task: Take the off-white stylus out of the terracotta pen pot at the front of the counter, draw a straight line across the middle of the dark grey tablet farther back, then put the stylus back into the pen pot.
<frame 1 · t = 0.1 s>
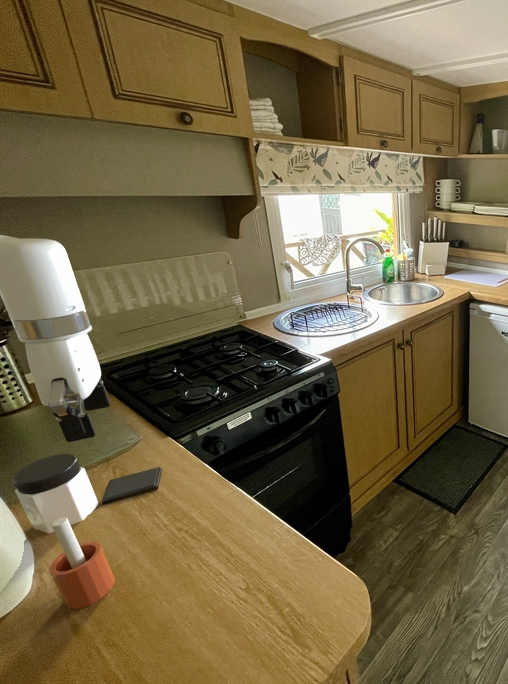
hand: (90, 422, 61), 25 cm above the countertop, tool pointing down, fingers open, 9 cm apart
tablet: (134, 486, 81), on the countertop
jar: (68, 517, 73), on the countertop
stylus: (91, 590, 59), point 1 cm above the countertop, touching pen pot
pen pot: (92, 593, 60), on the countertop
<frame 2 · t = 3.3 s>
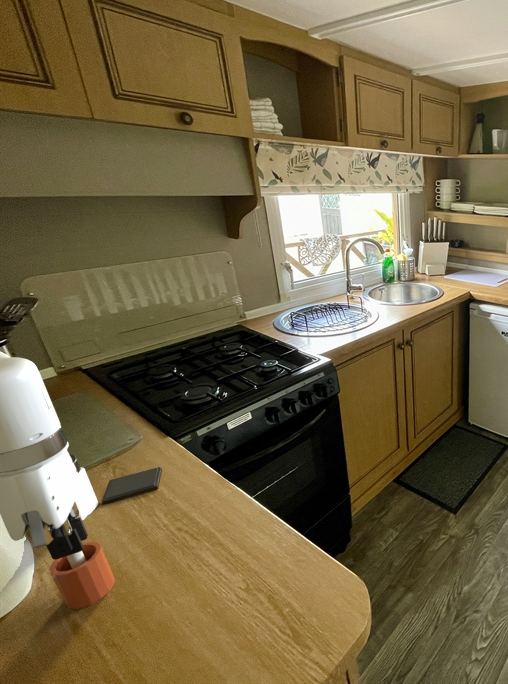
hand: (71, 547, 56), 10 cm above the countertop, tool pointing down, fingers closed on stylus, 1 cm apart
stylus: (91, 590, 59), point 1 cm above the countertop, touching gripper, pen pot
everything else where it was.
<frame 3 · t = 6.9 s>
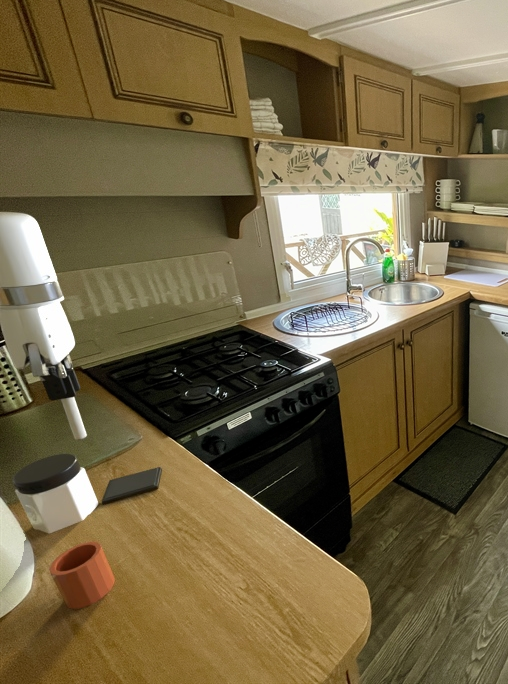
hand: (65, 394, 65), 27 cm above the countertop, tool pointing down, fingers closed on stylus, 1 cm apart
stylus: (81, 438, 68), point 18 cm above the countertop, touching gripper
everything else where it was.
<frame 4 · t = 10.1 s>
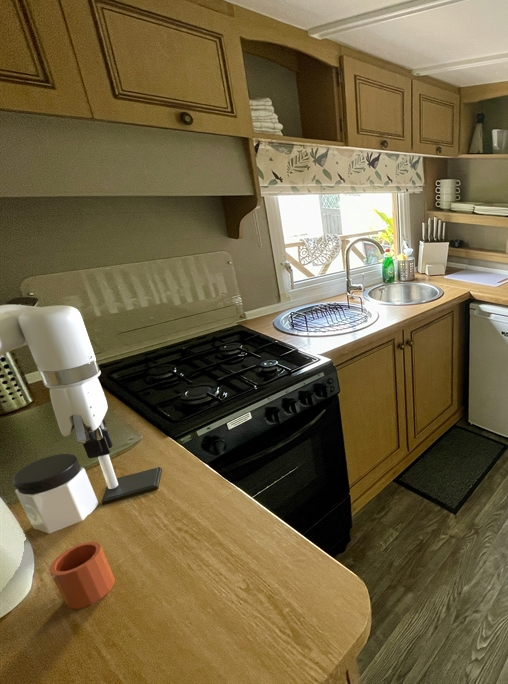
hand: (101, 451, 76), 10 cm above the countertop, tool pointing down, fingers closed on stylus, 1 cm apart
stylus: (113, 487, 79), point 1 cm above the countertop, touching gripper
everything else where it was.
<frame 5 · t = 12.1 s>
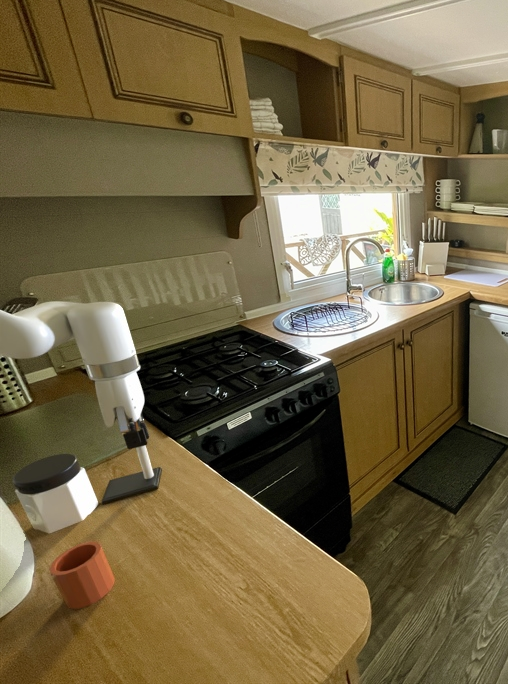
hand: (138, 442, 79), 10 cm above the countertop, tool pointing down, fingers closed on stylus, 1 cm apart
stylus: (149, 477, 82), point 1 cm above the countertop, touching gripper
everything else where it was.
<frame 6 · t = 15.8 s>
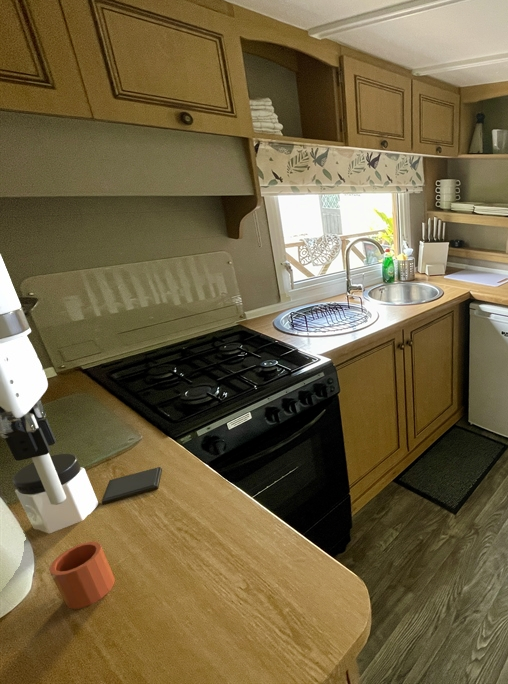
hand: (36, 450, 51), 27 cm above the countertop, tool pointing down, fingers closed on stylus, 1 cm apart
stylus: (59, 502, 55), point 18 cm above the countertop, touching gripper
everything else where it was.
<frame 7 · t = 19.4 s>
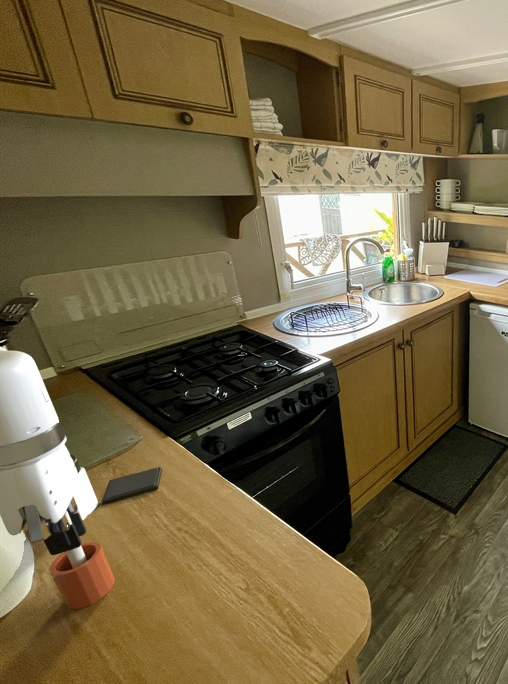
hand: (69, 542, 56), 11 cm above the countertop, tool pointing down, fingers closed on stylus, 1 cm apart
stylus: (88, 585, 59), point 2 cm above the countertop, touching gripper
everything else where it was.
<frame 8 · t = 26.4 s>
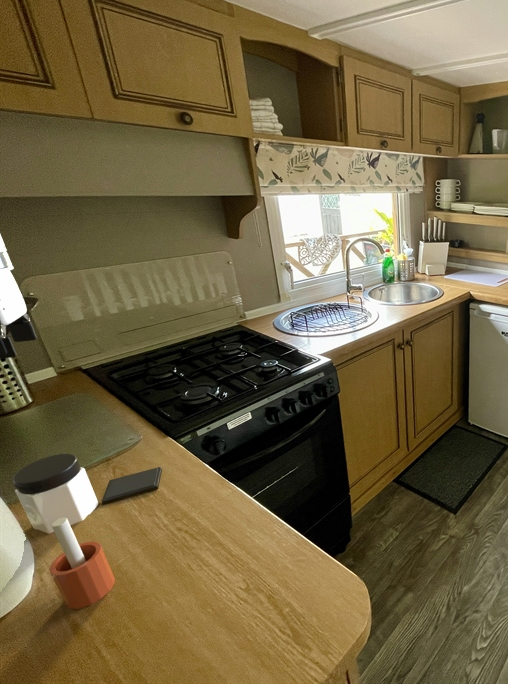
hand: (15, 348, 74), 30 cm above the countertop, tool pointing down, fingers open, 9 cm apart
stylus: (91, 590, 59), point 1 cm above the countertop, touching pen pot
everything else where it was.
at the end: stylus 0.1 cm off-centre in the pen pot, point 0.6 cm above the pen pot's base; stylus tilted 0°; stylus touching pen pot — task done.
